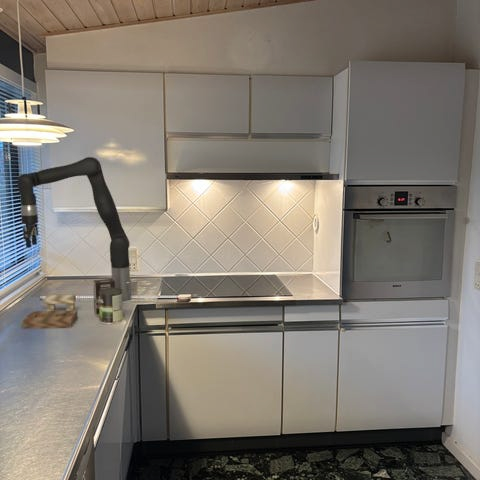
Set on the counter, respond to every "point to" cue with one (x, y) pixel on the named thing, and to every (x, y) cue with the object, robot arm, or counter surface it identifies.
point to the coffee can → (110, 305)
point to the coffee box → (98, 286)
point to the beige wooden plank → (60, 301)
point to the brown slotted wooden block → (50, 319)
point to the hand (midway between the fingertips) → (31, 246)
